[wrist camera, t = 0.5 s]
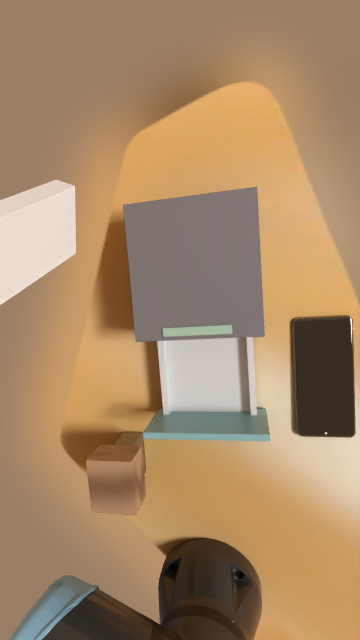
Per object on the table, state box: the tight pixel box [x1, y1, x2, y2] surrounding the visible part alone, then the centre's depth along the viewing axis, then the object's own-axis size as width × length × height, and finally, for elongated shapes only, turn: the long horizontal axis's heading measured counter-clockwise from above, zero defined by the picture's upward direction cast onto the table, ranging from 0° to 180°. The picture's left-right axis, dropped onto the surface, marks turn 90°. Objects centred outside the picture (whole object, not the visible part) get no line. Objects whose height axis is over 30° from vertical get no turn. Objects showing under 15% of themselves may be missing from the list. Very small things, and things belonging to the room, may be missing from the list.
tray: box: [143, 337, 270, 441], centre depth 41 cm, size 16×15×8 cm
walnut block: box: [86, 445, 146, 515], centre depth 42 cm, size 7×6×4 cm
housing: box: [123, 187, 265, 342], centre depth 40 cm, size 16×15×8 cm
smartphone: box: [292, 315, 355, 437], centre depth 42 cm, size 7×1×16 cm
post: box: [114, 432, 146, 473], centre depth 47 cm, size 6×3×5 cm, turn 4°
